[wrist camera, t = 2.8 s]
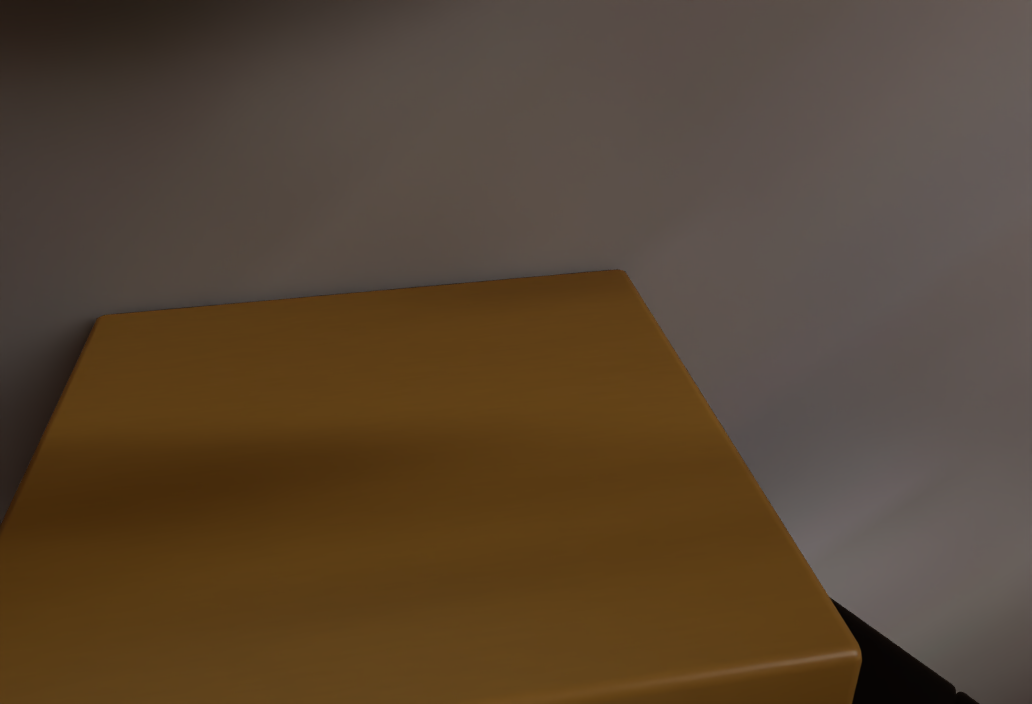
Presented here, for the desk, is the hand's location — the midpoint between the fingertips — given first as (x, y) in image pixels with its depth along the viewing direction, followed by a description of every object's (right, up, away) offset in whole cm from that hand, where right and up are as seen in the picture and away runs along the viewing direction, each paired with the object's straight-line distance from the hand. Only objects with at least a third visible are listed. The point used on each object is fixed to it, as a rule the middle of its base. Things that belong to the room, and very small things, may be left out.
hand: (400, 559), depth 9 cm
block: (0, +1, +1) cm, 1 cm away
